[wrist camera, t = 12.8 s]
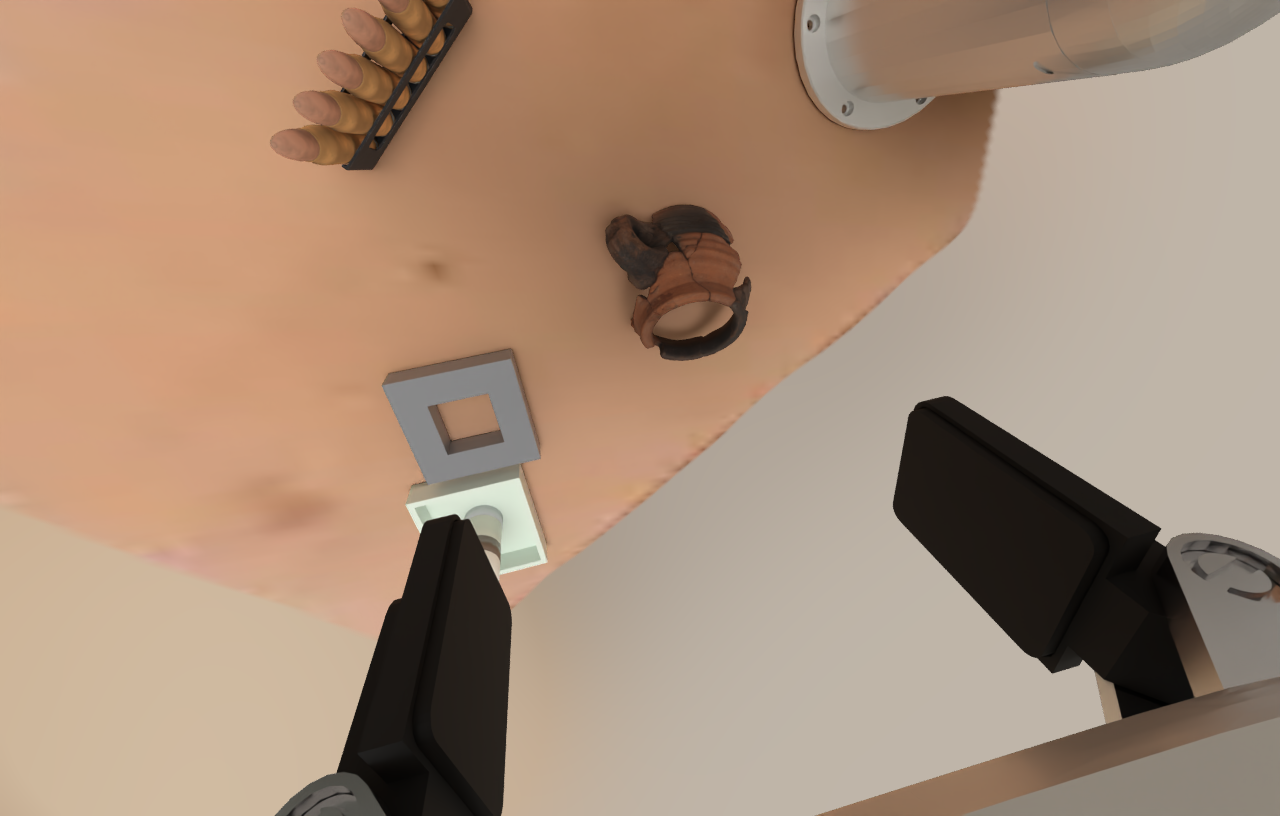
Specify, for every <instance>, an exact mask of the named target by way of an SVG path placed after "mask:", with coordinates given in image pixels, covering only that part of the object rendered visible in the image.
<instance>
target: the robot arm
mask: <svg viewBox="0 0 1280 816" xmlns="http://www.w3.org/2000/svg"><path fill="white" fill-rule="evenodd" d="M1279 12H1280V0H798V1H797V6H796V13H795V29H794V38H795V51H796V59H797V63H798V67H799V72H800V76H801V79H802V81H803V83H804V86H805V88H806V90H807V93H808V95H809V96H810V98H811V99H812V101H813V102H814V103H815V105H816V106H817V108H818V109H819V110H820V111H821V112H822V113H823V114H824V115H826V116H827V117H828V118H829V119H830V120H832V121H834V122H835V123H837V124H839V125H841V126H843V127H847V128H851V129H856V130H876V129H882V128H888V127H891V126H894V125H896V124H899V123H901V122H904V121H906V120H907V119H909V118H910V117H912V116H914V115H915V114H917V113H918V112H920V111H921V110H922V109H923V108H924V107H926V106H927V105H928V104H929V103H930V102H931V101H932V100H933V99H935V98H936V96H943V95H951V94H960V93H968V92H976V91H984V90H993V89H1001V88H1009V87H1017V86H1026V85H1033V84H1042V83H1050V82H1059V81H1067V80H1075V79H1083V78H1092V77H1100V76H1108V75H1116V74H1121V73H1129V72H1137V71H1144V70H1150V69H1155V68H1160V67H1165V66H1170V65H1173V64H1177V63H1180V62H1183V61H1187V60H1190V59H1193V58H1195V57H1198V56H1201V55H1203V54H1205V53H1208V52H1210V51H1212V50H1215V49H1217V48H1219V47H1222V46H1224V45H1226V44H1228V43H1230V42H1232V41H1233V40H1235V39H1237V38H1239V37H1241V36H1242V35H1244V34H1246V33H1247V32H1249V31H1251V30H1253V29H1254V28H1256V27H1258V26H1260V25H1261V24H1263V23H1264V22H1266V21H1267V20H1269V19H1270V18H1272V17H1273V16H1275V15H1276V14H1278V13H1279ZM807 22H808V23H809V30H808V28H807ZM842 107H843V110H842ZM893 509H894V512H895V514H896V516H897V518H898V519H899V520H900V521H901V523H902V524H903V525H904V526H905V527H906V528H907V529H908V530H909V531H910V532H911V533H912V534H913V535H914V536H915V537H916V539H918V541H919V542H920V543H921V544H922V545H923V546H924V547H925V548H926V549H927V550H928V551H929V552H930V553H931V554H932V555H933V556H934V557H935V559H936V560H937V561H938V562H939V563H940V564H941V565H942V566H943V567H944V568H945V569H946V570H947V571H948V572H949V573H950V574H951V575H952V576H953V578H954V579H955V580H956V581H958V583H959V584H960V585H961V586H962V587H963V588H964V589H965V590H966V591H967V592H968V593H969V594H970V595H971V596H972V597H973V599H974V600H975V601H976V602H977V603H978V604H979V605H980V606H981V607H982V608H983V609H984V610H985V611H986V612H987V613H988V614H989V616H990V617H991V618H992V619H993V620H994V621H995V622H996V623H997V624H998V625H999V626H1000V627H1001V628H1002V629H1003V630H1004V631H1005V632H1006V633H1007V635H1008V636H1010V638H1011V639H1012V640H1013V641H1014V642H1015V643H1016V644H1017V645H1018V646H1019V647H1020V648H1021V649H1022V650H1023V651H1024V652H1025V653H1026V654H1028V655H1030V656H1031V657H1035V658H1038V659H1039V660H1040V661H1041V662H1042V663H1043V664H1044V665H1045V667H1046V668H1048V670H1049V671H1050V672H1051V673H1056V672H1059V671H1062V670H1066V669H1069V668H1072V667H1076V666H1078V665H1080V663H1081V662H1082V660H1084V661H1085V662H1086V663H1087V664H1088V665H1089V666H1090V667H1091V668H1092V669H1093V670H1094V671H1095V676H1096V680H1097V685H1098V689H1099V694H1100V699H1101V703H1102V707H1103V712H1104V717H1105V721H1106V724H1105V725H1101V726H1098V727H1095V728H1092V729H1089V730H1085V731H1082V732H1079V733H1076V734H1072V735H1069V736H1066V737H1063V738H1060V739H1056V740H1053V741H1050V742H1047V743H1044V744H1040V745H1037V746H1034V747H1031V748H1028V749H1024V750H1021V751H1018V752H1015V753H1011V754H1008V755H1005V756H1002V757H999V758H995V759H992V760H990V761H986V762H983V763H980V764H977V765H973V766H970V767H967V768H964V769H961V770H958V771H954V772H951V773H948V774H945V775H942V776H939V777H936V778H932V779H929V780H926V781H923V782H920V783H916V784H913V785H910V786H907V787H904V788H901V789H898V790H895V791H891V792H888V793H885V794H882V795H879V796H876V797H873V798H869V799H866V800H863V801H860V802H857V803H854V804H850V805H847V806H844V807H841V808H838V809H835V810H832V811H829V812H825V813H822V814H819V815H816V816H1280V559H1279V558H1277V557H1275V556H1273V555H1271V554H1269V553H1267V552H1265V551H1264V550H1262V549H1259V548H1257V547H1254V546H1252V545H1249V544H1246V543H1244V542H1241V541H1238V540H1234V539H1231V538H1227V537H1223V536H1219V535H1213V534H1203V533H1189V534H1181V535H1178V536H1176V537H1173V538H1172V539H1171V540H1170V541H1169V543H1168V544H1167V546H1166V547H1165V546H1163V545H1162V544H1160V543H1159V542H1157V541H1155V538H1156V537H1157V535H1158V533H1159V532H1160V530H1161V528H1160V527H1158V526H1156V525H1155V524H1153V523H1152V522H1150V521H1148V520H1147V519H1145V518H1144V517H1142V516H1140V515H1139V514H1137V513H1136V512H1134V511H1132V510H1131V509H1129V508H1128V507H1126V506H1124V505H1123V504H1121V503H1120V502H1118V501H1117V500H1115V499H1113V498H1112V497H1110V496H1109V495H1107V494H1105V493H1104V492H1102V491H1101V490H1099V489H1097V488H1096V487H1094V486H1092V485H1091V484H1089V483H1088V482H1086V481H1084V480H1083V479H1081V478H1080V477H1078V476H1077V475H1075V474H1073V473H1072V472H1070V471H1069V470H1067V469H1065V468H1064V467H1062V466H1061V465H1059V464H1057V463H1056V462H1054V461H1053V460H1051V459H1049V458H1048V457H1046V456H1045V455H1043V454H1041V453H1040V452H1038V451H1037V450H1035V449H1034V448H1032V447H1030V446H1029V445H1027V444H1026V443H1024V442H1022V441H1021V440H1019V439H1018V438H1016V437H1014V436H1013V435H1011V434H1010V433H1008V432H1006V431H1005V430H1003V429H1002V428H1000V427H998V426H997V425H995V424H994V423H992V422H990V421H989V420H987V419H986V418H984V417H982V416H981V415H979V414H978V413H976V412H975V411H973V410H971V409H970V408H968V407H967V406H965V405H963V404H962V403H960V402H958V401H957V400H955V399H954V398H951V397H948V396H944V397H939V398H935V399H931V400H927V401H923V402H920V403H918V404H917V405H916V406H915V408H914V411H912V412H911V413H910V414H909V417H908V422H907V428H906V433H905V439H904V445H903V450H902V456H901V461H900V467H899V472H898V479H897V484H896V490H895V495H894V501H893ZM511 627H512V617H511V610H510V606H509V603H508V601H507V598H506V596H505V594H504V592H503V590H502V588H501V585H500V583H499V581H498V579H497V577H496V575H495V572H494V570H493V568H492V566H491V564H490V562H489V559H488V557H487V555H486V553H485V551H484V549H483V546H482V544H481V542H480V540H479V538H478V536H477V533H476V531H475V529H474V527H473V525H472V523H471V521H470V520H469V519H463V520H461V519H460V517H459V516H458V515H457V514H452V515H448V516H444V517H440V518H436V519H432V520H427V521H426V522H425V523H424V525H423V527H422V530H421V534H420V537H419V541H418V544H417V548H416V551H415V555H414V558H413V561H412V565H411V568H410V572H409V575H408V579H407V582H406V586H405V589H404V593H403V596H402V598H401V599H397V600H394V601H393V602H392V604H391V605H390V606H389V608H388V611H387V613H386V616H385V619H384V622H383V626H382V629H381V632H380V635H379V638H378V642H377V645H376V648H375V651H374V655H373V658H372V661H371V664H370V667H369V670H368V674H367V677H366V680H365V683H364V686H363V690H362V693H361V696H360V699H359V703H358V706H357V709H356V712H355V716H354V719H353V722H352V725H351V728H350V731H349V735H348V738H347V741H346V744H345V747H344V751H343V754H342V757H341V761H340V763H339V767H338V770H337V773H336V774H330V775H326V776H324V777H322V778H320V779H318V780H316V781H315V782H312V783H310V784H309V785H307V786H306V787H305V788H303V789H302V790H301V791H300V792H298V793H297V794H296V795H295V796H293V797H292V798H291V799H290V800H289V801H288V802H287V803H286V804H285V805H284V806H283V807H282V808H281V810H280V811H279V812H278V813H277V814H276V815H275V816H501V813H502V807H503V793H504V773H505V752H506V730H507V710H508V690H509V689H508V687H509V669H510V648H511Z"/></svg>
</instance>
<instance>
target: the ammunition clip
mask: <svg viewBox="0 0 1280 816" xmlns="http://www.w3.org/2000/svg"><path fill="white" fill-rule="evenodd" d="M378 1H379V2H380V4H381V6H382V8H383V10H384V12H385V14H386V15H385V17H384V19H380V18H377V17H374V16H372V15H370V14H368V13H367V12H365V11H363V10H360V9H357V8H347V9H345V10H344V11H343V12H342V15H341V19H342V23H343V26H344V28H345V30H346V32H347V33H348V35H349V36H350V37H351V38H352V39H353V40H354V41H355V42H356V43H357V44H358V45H359V46H360V47H361V48H362V49H363V51H364V52H363V54H362V56H360V55H356V54H346V53H343V52H339V51H335V50H327V51H323V52H321V53H320V54H319V55H318V56H317V64H318V66H319V68H320V70H321V71H322V72H323V74H324V75H325V76H326V77H327V78H328V79H330V80H331V81H332V82H334V83H336V84H337V85H339V86H341V87H343V88H342V90H341V91H340V92H339V91H335V90H328V91H324V92H322V91H320V92H318V91H304V92H301V93H299V94H298V95H296V96H295V97H294V99H293V105H294V108H295V109H296V110H297V111H298V112H299V113H300V114H301V115H302V116H303V117H304V118H306V119H308V120H310V121H312V122H314V123H317V124H321V125H307V126H304V127H302V128H297V129H287V130H282V131H280V132H278V133H276V134H275V135H273V136H272V138H271V140H270V146H271V147H272V149H273V150H274V151H275V152H276V153H278V154H280V155H282V156H283V157H286V158H288V159H292V160H297V161H307V162H312V163H314V164H319V165H334V164H343V165H342V167H343V168H345V169H346V170H372V169H373V168H374V166H375V165H376V163H377V162H378V160H379V159H380V157H381V155H382V154H383V152H384V151H385V149H386V148H387V146H388V144H389V143H390V141H391V140H392V138H393V137H394V135H395V133H396V132H397V130H398V129H399V127H400V126H401V124H402V122H403V121H404V119H405V118H406V116H407V115H408V113H409V111H410V110H411V108H412V107H413V105H414V104H415V102H416V100H417V99H418V97H419V96H420V94H421V93H422V91H423V89H424V88H425V86H426V85H427V83H428V82H429V80H430V78H431V77H432V75H433V74H434V72H435V71H436V69H437V67H438V66H439V64H440V63H441V61H442V59H443V58H444V56H445V55H446V53H447V52H448V50H449V48H450V47H451V45H452V44H453V42H454V41H455V39H456V37H457V36H458V34H459V33H460V31H461V30H462V28H463V26H464V25H465V23H466V22H467V20H468V19H469V17H470V15H471V14H472V7H471V5H470V3H469V2H468V0H378ZM392 23H393V24H394V25H395V26H396V27H397V28H398V29H399V30H400V31H401V32H402V33H403V34H400V33H399V32H398V31H397V30H396V29H395V28H394V27H393V26H391V25H392ZM371 59H372V60H374V61H375V62H377V63H378V64H380V65H382V66H383V67H381V66H379V65H377V64H376V63H374V62H372V61H370V60H371ZM350 94H352V95H350ZM347 163H349V164H348V165H346V164H347Z"/></svg>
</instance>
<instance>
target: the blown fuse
mask: <svg viewBox="0 0 1280 816" xmlns="http://www.w3.org/2000/svg"><path fill="white" fill-rule="evenodd" d="M464 519H469V520H470V521H471V523H472V525H473V527H474V529H475V531H476V533H477V536H478V538H479V540H480V542H481V544H482V546H483V549H484V551H485V553H486V555H487V557H488V559H489V562H490V564H491V566H492V568H493V570H494V572H495V575H496V577H497V579H498V581H499V576H500V562H501V539H502V530H503V515H502V513H501V512H500V511H499V510H498V509H497V508H495V507H493V506H489V505H480V506H476V507H473V508H472V509H470V510H469V511H468V512H467V513H466V515H465V518H464Z"/></svg>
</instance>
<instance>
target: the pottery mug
mask: <svg viewBox="0 0 1280 816" xmlns="http://www.w3.org/2000/svg"><path fill="white" fill-rule="evenodd" d="M652 218H653V224H652V223H644V222H641V221H638V220H637V219H636V218H634V217H632V216H630V215H623V216H621V217H616V218H614V219H613V220H612V221H611V224H610V225H609V226H608V227H607V228H606V244H607V247H608V250H609V252H610V254H611V256H612V257H613V258H614V260H615V261H616V262H617V263H618V264H619V265H620V267H621V268H622V269H623V270H625V271H626V272H627V274H628V279H629V281H630V282H631V283H632V284H633V285H634V286H635V287H636V288H638V289H640V290H643V289H647V288H648V287H650V290H649V295H648V297H647V298H646V297H645V296H643V295H638V297H637V300H636V304H635V310H634V313H633V314H634V315H633V316H634V318H632V319H631V326H632V327H633V328H634V331H635V332H636V333H637V334H638V335H639V336H640V339H641V341H642V343H643V345H644V346H645V347H646V348H647V349H648V348H651V347H654V346H655V345H656V346H658V347H659V348H660V355H661V357H662V358H664V359H668V360H679V361H684V360H693V359H698V358H701V357H703V356H708V355H711V354H714V353H716V352H718V351H720V350H722V349H724V348H726V347H727V346H729V345H730V344H732V343H733V342H734V341H735V340H736V339H737V338H738V337H739V335H740V334H741V333H742V331H743V329H744V327H745V325H746V321H747V315H748V311H746V310H745V309H746V306H747V304H748V300H749V296H750V292H751V282H750V279H749V277H745V279H744V282H743V284H742V285H741V286H739V287H735V288H733V286H734V284H735V283H736V281H737V277H738V275H739V273H740V269H741V265H742V264H741V262H740V259H739V255H738V253H737V252H736V251H735V250H734V249H732V248H731V247H730V244H732V243H733V241H734V240H733V237H732V235H731V233H730V231H729V230H728V228H727V227H726V226H724V225H723V224H722V223H721V221H720V220H719V219H718V218H717V217H716V216H715V215H714V214H713V213H711V212H709V211H707V210H706V209H704V208H701V207H697V206H693V205H677V206H671V207H668V208H667V209H663V210H661V211H659V212H657V213H655V214H653V216H652ZM670 242H673V243H674V244H675V245H676V247H677V248H678V249H679V251H671V252H668V250H667V248H666V247H667V246H668V244H669V243H670ZM701 301H711V302H717V303H721V304H723V305H726V306H729V307H730V308H731V309H732V311H733V312H734V313H733V315H732V317H731V318H730V320H729V321H728V322H727V323H726V324H725V325H724V326H722V327H721V328H719V329H717V330H715V331H713V332H711V333H709V334H708V335H706V336H704V337H702V336H699V337H694V338H690V339H686V340H671V339H666V338H663V337H659V336H656V335H654V334H653V333H652V331H653V328H654V326H655V324H656V323H657V322H658V320H659V319H660V318H661V316H662V315H663V314H665V313H667V312H669V311H670V310H672V309H675V308H677V307H679V306H682V305H685V304H689V303H693V302H701Z"/></svg>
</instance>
